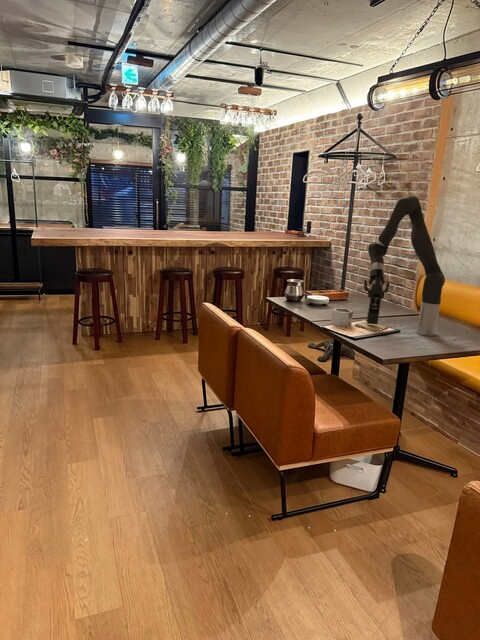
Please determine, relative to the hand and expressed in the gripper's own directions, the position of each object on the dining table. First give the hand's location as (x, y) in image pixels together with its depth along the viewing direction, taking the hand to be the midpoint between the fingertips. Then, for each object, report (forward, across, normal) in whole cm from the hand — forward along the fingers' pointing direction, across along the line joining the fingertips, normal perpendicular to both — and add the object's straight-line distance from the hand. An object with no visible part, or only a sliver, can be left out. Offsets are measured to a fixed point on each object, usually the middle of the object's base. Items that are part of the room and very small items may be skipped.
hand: (375, 297), depth 246 cm
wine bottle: (+9, 0, +12) cm, 15 cm away
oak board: (+11, 0, +13) cm, 17 cm away
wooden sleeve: (+12, -16, +13) cm, 24 cm away
